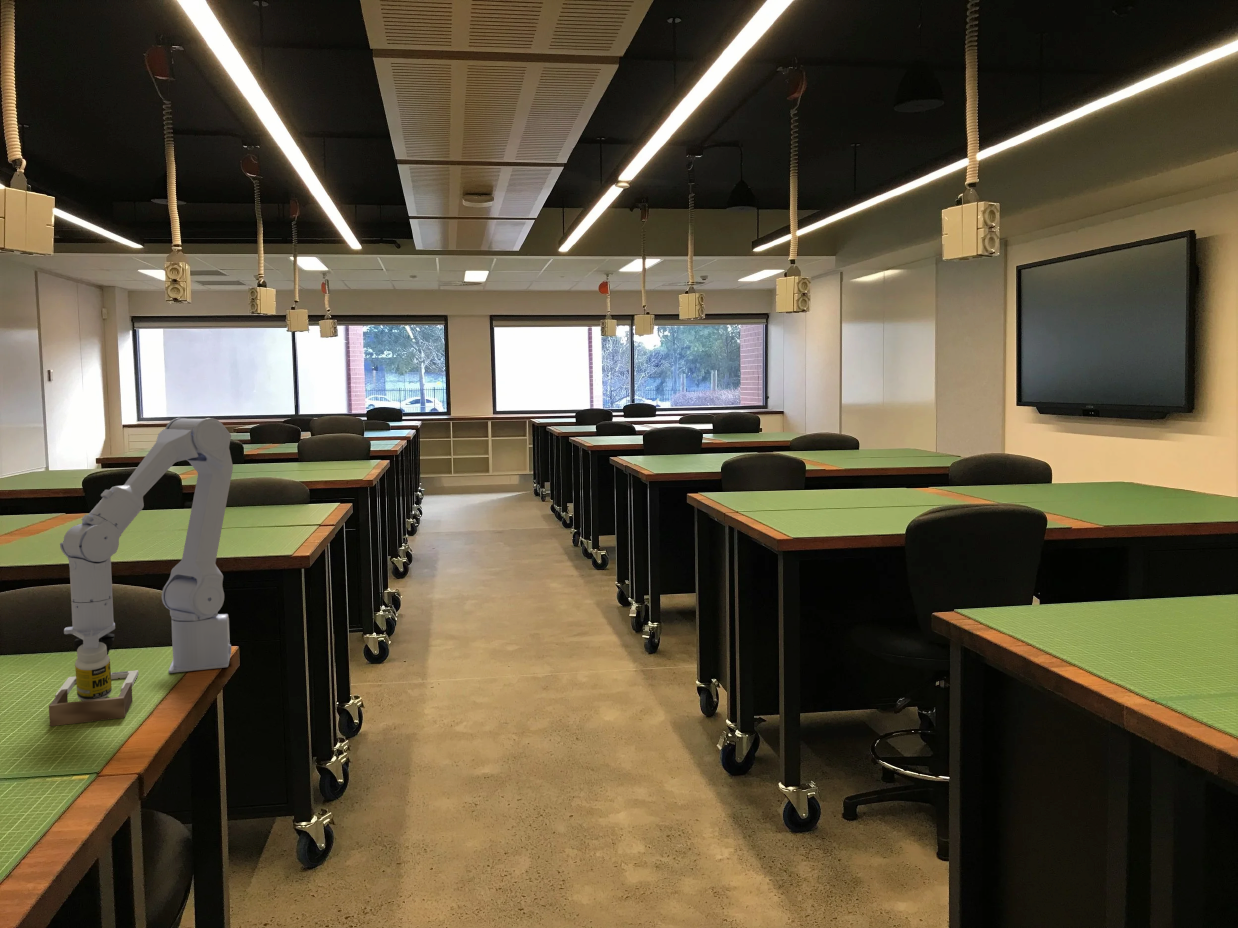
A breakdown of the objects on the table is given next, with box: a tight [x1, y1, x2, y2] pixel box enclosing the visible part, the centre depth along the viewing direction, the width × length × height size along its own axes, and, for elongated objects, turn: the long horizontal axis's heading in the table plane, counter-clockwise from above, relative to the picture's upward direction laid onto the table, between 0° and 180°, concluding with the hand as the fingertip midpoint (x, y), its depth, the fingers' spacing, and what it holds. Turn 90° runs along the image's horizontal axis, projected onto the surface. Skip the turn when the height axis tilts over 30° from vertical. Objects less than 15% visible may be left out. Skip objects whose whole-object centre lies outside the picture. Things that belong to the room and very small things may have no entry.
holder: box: [48, 682, 133, 727], centre depth 135 cm, size 10×8×3 cm
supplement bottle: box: [74, 642, 113, 701], centre depth 140 cm, size 5×5×8 cm
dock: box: [54, 669, 139, 698], centre depth 147 cm, size 10×10×1 cm
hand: (96, 681), depth 144 cm, fingers closed
